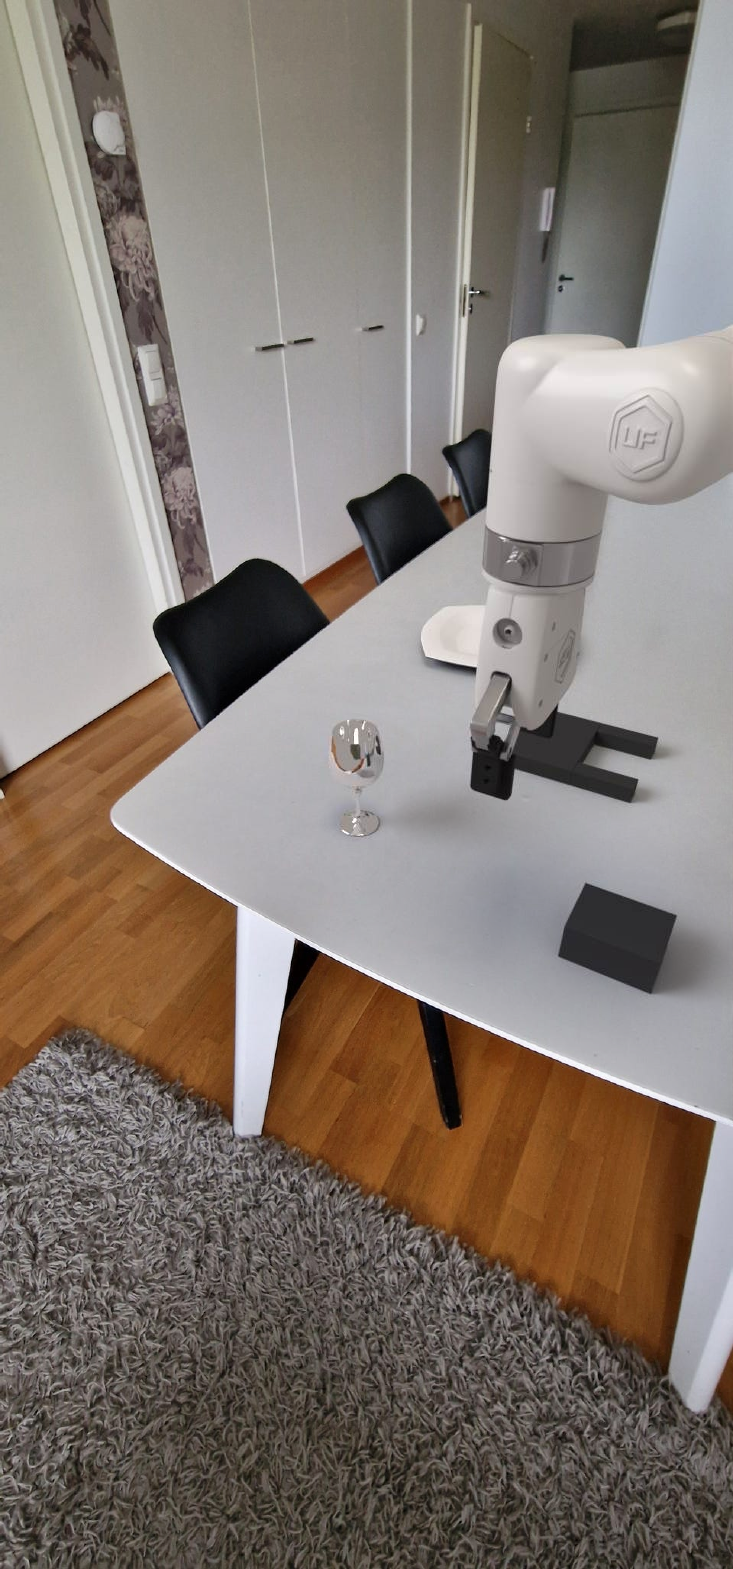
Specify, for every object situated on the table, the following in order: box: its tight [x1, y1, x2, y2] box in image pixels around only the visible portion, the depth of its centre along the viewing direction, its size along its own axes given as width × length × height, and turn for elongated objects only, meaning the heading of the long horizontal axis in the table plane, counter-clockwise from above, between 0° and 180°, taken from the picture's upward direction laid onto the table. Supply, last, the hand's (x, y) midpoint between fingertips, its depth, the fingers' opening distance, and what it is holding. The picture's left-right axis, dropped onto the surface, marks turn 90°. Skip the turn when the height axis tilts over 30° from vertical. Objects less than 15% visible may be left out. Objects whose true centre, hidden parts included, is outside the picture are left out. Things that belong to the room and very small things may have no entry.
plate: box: [420, 604, 486, 669], centre depth 111 cm, size 23×23×2 cm
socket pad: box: [512, 711, 659, 803], centre depth 86 cm, size 16×12×2 cm
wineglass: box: [327, 718, 385, 837], centre depth 74 cm, size 6×6×12 cm
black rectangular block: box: [557, 882, 678, 995], centre depth 61 cm, size 8×6×4 cm
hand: (513, 761), depth 57 cm, fingers open, 9 cm apart
